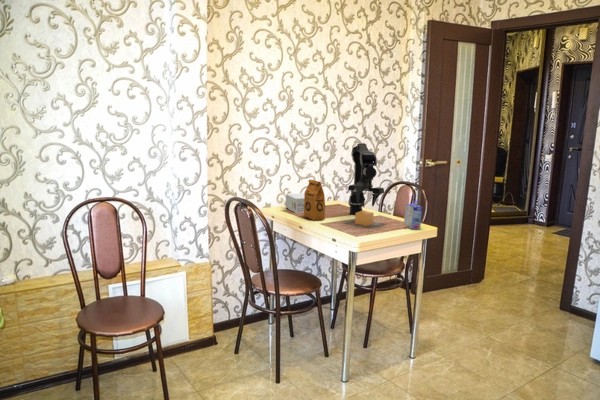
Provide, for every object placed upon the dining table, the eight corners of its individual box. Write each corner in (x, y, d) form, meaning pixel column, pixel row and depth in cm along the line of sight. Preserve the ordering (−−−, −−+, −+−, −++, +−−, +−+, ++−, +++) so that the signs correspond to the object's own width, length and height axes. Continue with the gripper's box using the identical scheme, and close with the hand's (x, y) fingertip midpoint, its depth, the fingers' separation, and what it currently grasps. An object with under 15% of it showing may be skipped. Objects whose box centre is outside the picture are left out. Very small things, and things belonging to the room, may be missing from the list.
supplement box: (285, 208, 284) (285, 193, 282) (304, 207, 289) (304, 193, 287) (295, 213, 268) (296, 198, 267) (315, 212, 274) (315, 197, 272)
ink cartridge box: (421, 229, 235) (423, 202, 233) (411, 229, 234) (413, 202, 232) (412, 225, 245) (414, 199, 243) (403, 225, 244) (405, 199, 241)
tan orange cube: (355, 223, 240) (355, 212, 239) (361, 221, 245) (362, 210, 244) (366, 225, 235) (367, 214, 234) (372, 223, 241) (373, 212, 240)
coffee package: (312, 221, 247) (313, 182, 244) (301, 217, 258) (302, 179, 254) (327, 220, 252) (329, 181, 248) (316, 215, 263) (317, 178, 259)
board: (340, 225, 240) (340, 223, 240) (355, 220, 253) (355, 218, 252) (373, 231, 228) (373, 229, 228) (387, 226, 241) (387, 224, 241)
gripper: (343, 175, 235) (342, 204, 238) (375, 179, 224) (373, 209, 226) (354, 174, 244) (353, 202, 246) (385, 177, 233) (383, 206, 235)
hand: (365, 205), depth 238 cm, fingers open, 9 cm apart
